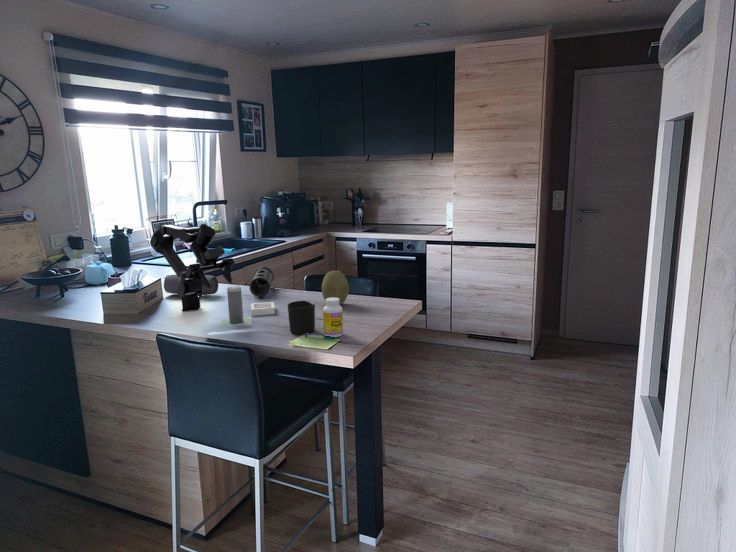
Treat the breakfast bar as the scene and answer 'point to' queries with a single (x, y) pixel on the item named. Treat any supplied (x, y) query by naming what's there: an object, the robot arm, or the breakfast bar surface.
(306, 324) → the pen holder
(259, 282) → the muzzle brake
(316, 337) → the breakfast bar surface
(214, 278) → the bluetooth speaker
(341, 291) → the fruit
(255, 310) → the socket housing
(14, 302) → the breakfast bar surface
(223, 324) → the pad
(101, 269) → the teapot
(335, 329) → the supplement bottle
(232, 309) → the grey rectangular block
